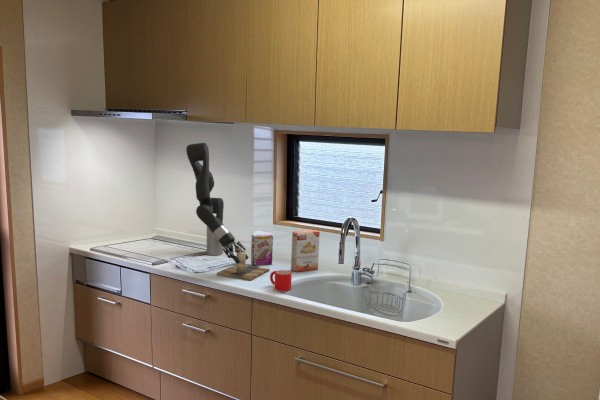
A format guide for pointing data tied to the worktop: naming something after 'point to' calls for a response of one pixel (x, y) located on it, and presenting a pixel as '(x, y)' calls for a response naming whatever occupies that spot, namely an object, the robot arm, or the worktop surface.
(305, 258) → the cracker box
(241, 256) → the tan tall block
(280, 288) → the mug
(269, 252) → the candy bar box
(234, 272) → the oak board
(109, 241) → the worktop surface
